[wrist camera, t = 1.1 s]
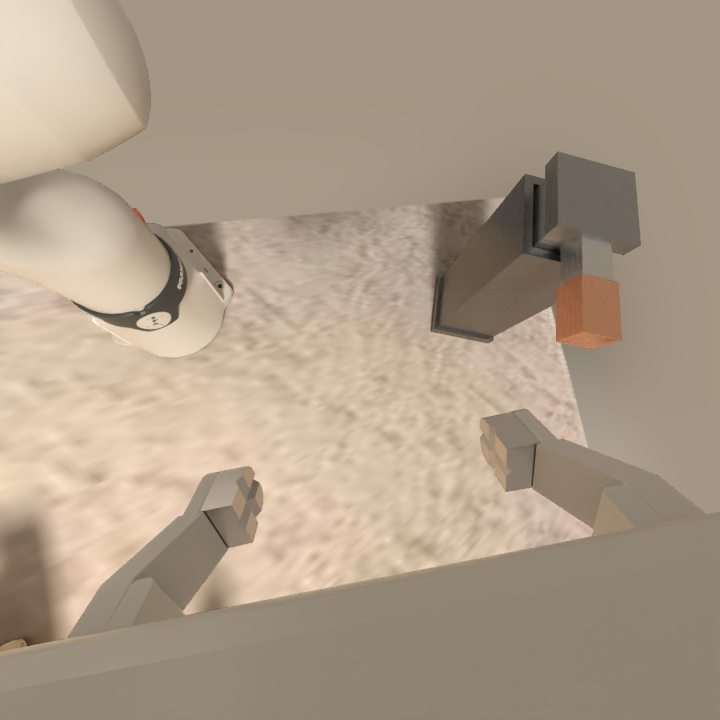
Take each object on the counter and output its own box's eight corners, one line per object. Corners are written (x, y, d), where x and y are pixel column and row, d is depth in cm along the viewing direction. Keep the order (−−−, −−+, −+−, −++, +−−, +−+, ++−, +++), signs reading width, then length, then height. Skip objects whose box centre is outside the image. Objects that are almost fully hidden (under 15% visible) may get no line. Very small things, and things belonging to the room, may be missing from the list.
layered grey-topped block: (452, 274, 51) (557, 151, 29) (497, 284, 52) (634, 172, 29) (442, 374, 47) (558, 325, 24) (491, 384, 48) (648, 344, 25)
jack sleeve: (436, 277, 55) (521, 169, 32) (491, 289, 56) (611, 192, 33) (431, 331, 53) (518, 256, 30) (488, 343, 54) (616, 279, 31)
